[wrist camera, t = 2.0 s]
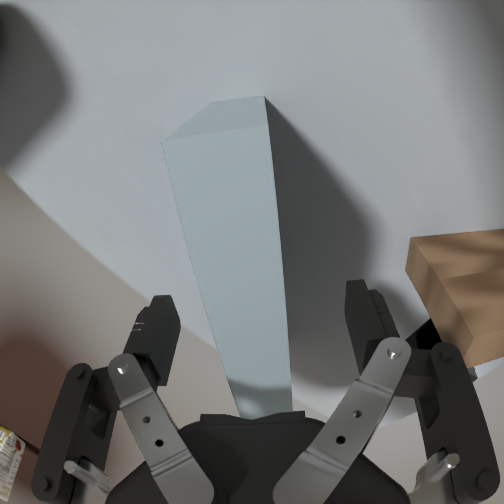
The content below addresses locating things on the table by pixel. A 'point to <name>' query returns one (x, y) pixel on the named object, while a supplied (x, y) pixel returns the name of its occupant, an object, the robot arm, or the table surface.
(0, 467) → the juice carton
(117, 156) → the table surface
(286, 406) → the blue grey block
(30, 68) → the table surface
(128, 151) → the table surface
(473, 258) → the brown wooden board
